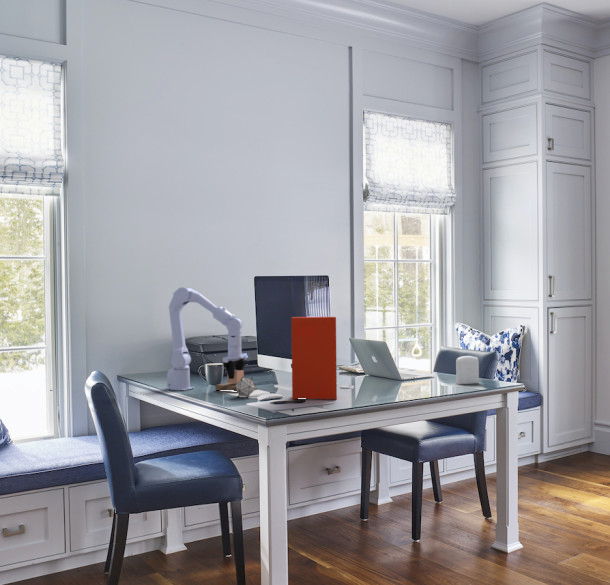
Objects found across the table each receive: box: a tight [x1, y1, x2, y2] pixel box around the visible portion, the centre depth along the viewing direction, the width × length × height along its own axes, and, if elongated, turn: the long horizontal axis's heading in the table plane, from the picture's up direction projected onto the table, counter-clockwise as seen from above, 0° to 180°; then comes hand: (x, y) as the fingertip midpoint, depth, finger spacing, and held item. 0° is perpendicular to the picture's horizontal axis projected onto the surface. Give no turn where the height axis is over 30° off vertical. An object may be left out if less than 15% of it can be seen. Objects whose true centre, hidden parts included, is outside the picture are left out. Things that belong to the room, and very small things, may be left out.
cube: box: [226, 369, 245, 383], centre depth 311 cm, size 5×5×5 cm
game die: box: [234, 376, 258, 398], centre depth 292 cm, size 9×8×10 cm
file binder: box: [291, 316, 338, 400], centre depth 287 cm, size 8×17×32 cm, turn 91°
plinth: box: [214, 382, 256, 391], centre depth 311 cm, size 12×12×2 cm
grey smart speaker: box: [455, 355, 480, 385], centre depth 324 cm, size 10×4×12 cm, turn 101°
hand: (235, 377), depth 311 cm, fingers closed on cube, 5 cm apart
